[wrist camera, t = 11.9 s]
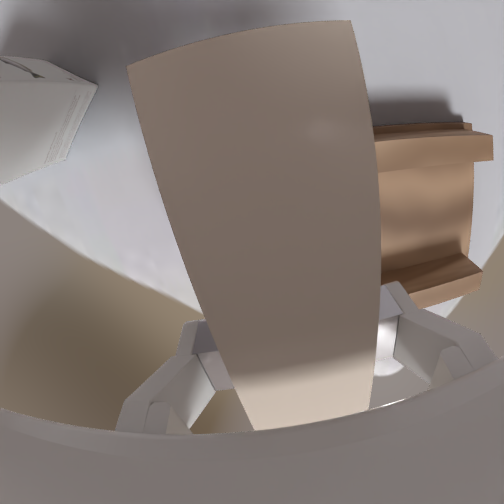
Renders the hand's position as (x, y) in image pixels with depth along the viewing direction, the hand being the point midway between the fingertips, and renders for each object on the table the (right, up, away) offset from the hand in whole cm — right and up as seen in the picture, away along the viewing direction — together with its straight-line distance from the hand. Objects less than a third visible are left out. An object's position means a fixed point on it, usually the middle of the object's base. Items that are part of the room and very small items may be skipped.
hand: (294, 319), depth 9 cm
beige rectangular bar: (0, +1, +2) cm, 2 cm away
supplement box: (-18, +15, +10) cm, 25 cm away
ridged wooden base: (+12, +6, +14) cm, 19 cm away
